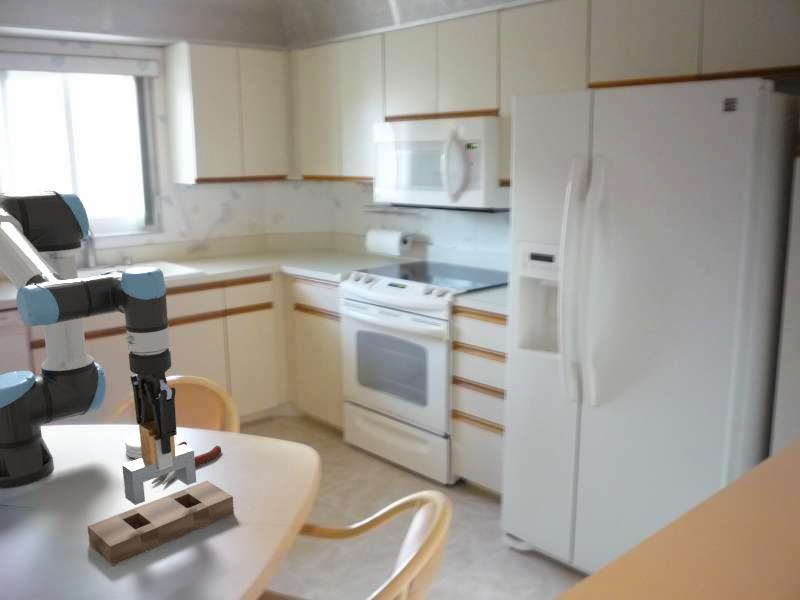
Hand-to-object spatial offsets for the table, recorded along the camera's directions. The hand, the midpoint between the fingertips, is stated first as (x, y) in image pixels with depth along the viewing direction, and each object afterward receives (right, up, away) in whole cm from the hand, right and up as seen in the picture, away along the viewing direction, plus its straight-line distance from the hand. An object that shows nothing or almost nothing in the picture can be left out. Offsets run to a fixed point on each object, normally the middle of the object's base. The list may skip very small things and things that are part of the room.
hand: (159, 463), depth 143 cm
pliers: (-6, -8, +32) cm, 33 cm away
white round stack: (-16, -6, +39) cm, 43 cm away
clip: (0, -5, +1) cm, 6 cm away
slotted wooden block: (0, -14, +3) cm, 14 cm away
